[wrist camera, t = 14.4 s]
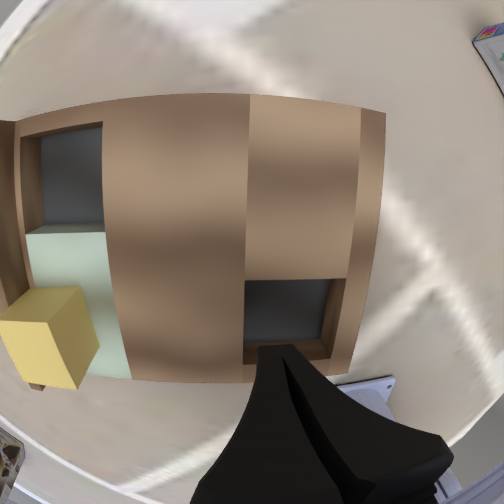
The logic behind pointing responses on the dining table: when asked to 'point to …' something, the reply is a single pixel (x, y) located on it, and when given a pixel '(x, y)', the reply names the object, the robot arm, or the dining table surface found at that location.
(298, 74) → the dining table surface
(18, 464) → the coffee box
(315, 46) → the dining table surface
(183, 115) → the board
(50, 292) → the cube
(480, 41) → the ink cartridge box
